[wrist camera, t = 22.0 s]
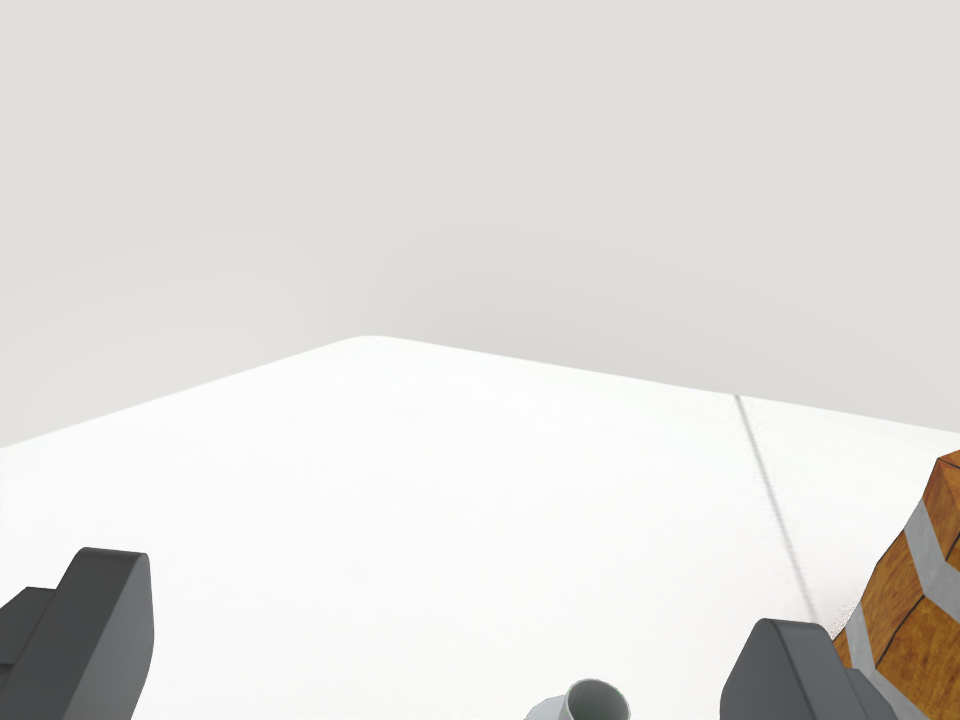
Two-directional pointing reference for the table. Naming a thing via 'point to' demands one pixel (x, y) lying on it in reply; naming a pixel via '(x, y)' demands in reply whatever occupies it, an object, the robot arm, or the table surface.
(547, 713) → the vape
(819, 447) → the table surface
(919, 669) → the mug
